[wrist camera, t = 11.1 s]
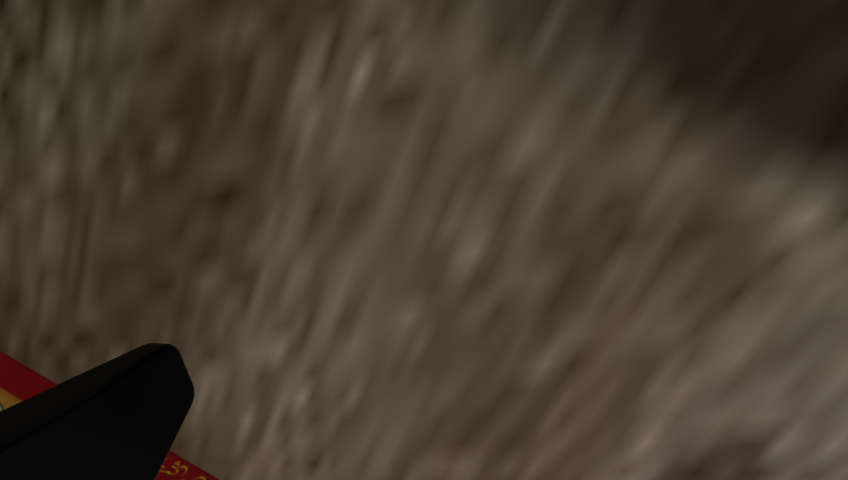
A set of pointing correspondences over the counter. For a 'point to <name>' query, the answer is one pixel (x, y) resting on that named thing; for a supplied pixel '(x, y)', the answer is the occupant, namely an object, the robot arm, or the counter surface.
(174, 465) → the pasta box
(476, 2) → the counter surface
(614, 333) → the counter surface
